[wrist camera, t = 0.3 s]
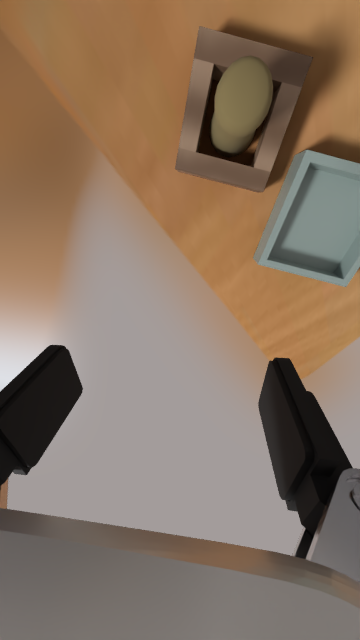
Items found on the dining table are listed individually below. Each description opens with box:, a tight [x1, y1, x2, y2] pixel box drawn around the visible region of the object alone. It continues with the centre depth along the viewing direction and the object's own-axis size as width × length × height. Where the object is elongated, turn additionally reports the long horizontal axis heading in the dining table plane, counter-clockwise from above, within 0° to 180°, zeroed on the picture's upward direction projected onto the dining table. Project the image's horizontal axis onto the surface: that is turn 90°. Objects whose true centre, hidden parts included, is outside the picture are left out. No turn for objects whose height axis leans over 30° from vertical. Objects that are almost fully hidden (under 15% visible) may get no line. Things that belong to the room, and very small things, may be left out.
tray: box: [253, 150, 360, 287], centre depth 30 cm, size 14×14×4 cm
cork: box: [209, 55, 273, 157], centre depth 23 cm, size 6×6×11 cm
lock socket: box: [175, 26, 313, 192], centre depth 26 cm, size 12×12×4 cm
